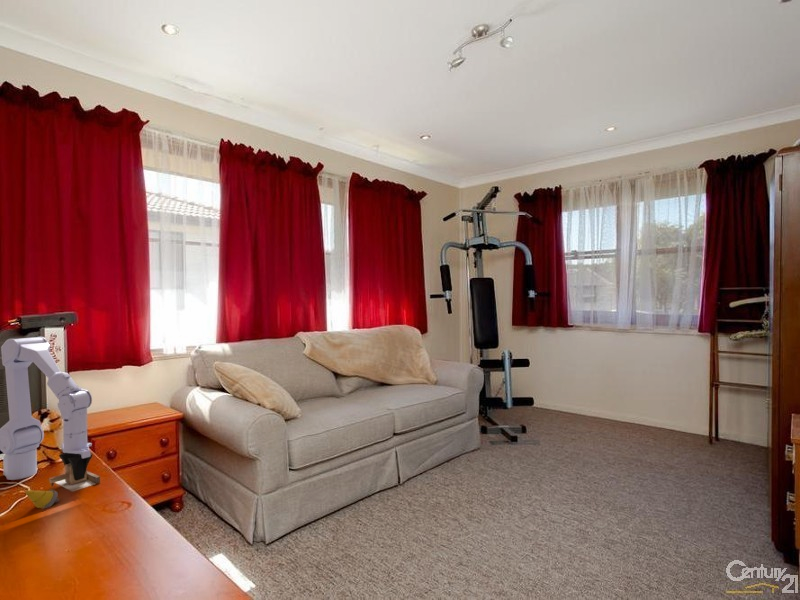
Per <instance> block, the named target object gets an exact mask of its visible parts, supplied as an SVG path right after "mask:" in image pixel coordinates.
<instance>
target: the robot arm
mask: <svg viewBox="0 0 800 600" xmlns="http://www.w3.org/2000/svg"><path fill="white" fill-rule="evenodd" d="M50 350H51V344H50V343H49V341H48V339H47V338H45V337H44V336H40V335H39V336H37V337H36V336H35V337H34V336H33V337H23V338H8V339H6V340H5V342H4V343H3V344H2V345H1V347H0V353H1V363H2V366H4V368H5V369H4V370H5V382H6V393H7V394H6V395H7V403H8V417H9V420H8V421H7V422H5V424H4V425H2V427H0V451H1V452H2V454H4V456H3V458H2V459H3V460H2V461H3V462H2V463H3V465H2V466H3V476H5V477H6V480H8V481H9V480H11V481H15V480H22V479H25V478H29V477H32V476H34V475H36V474H37V473H38V457H37V456H38V453H37V452H38V451H37V450H38V449H37V448H39V447H40V444H41V443H42V442H43V440H44V437H45V433H44V429H43V427H42V424H41V421H40V420H39V419H37V418H35V417H33V415H32V406H31V405H32V402H31V394H30V391H31V390H30V382H29V381H30V380H29V379H30V378H29V370H28V367H30V366H31V365H32V363H34V364H35V366H37V368H38V369H39V370H40V371H41V372H42V374H43V375H45V377H47V378H48V380H47V384H46V385H47V387H48V388H49V389H50V390H51V391H52V393H53V394H54V396H55V397H56V398H57V399H58V402H57V408H58V410H59V412H60V418H61V419H63V421H62V424H63V427H62V428H63V431H62V432H63V443H61V451H62V453H60V454H59V455H58V456H59V458H60V459H61V460H62V461H61V462H62V463H63V465H64V466H65V465H66V464H71V466H72V469H73V475H74V479H75V480H76V481H77V480H80V479H83V478H84V476H85V472H86V468H87V467H88V465H89V462H90V461H91V459H92V458H93V454H92V453H91V449H90V448H89V447H92V446H93V443H92V442H88V408H90V406H91V405H92V402H93V397H92V394H91V392H90V391H89V390H88V389H84V388H83V387H79V386H78V385H77V383H76V382H75V380H74V379H73V378H72V377H71V375H70V374H69V373H68V372H65V371H64V372H63V371H62V370H61V369H60V367H59V365H57V363H56V361H55V359H54V357H53V356H52V354H51V353H50V352H51V351H50ZM87 469H88V468H87Z"/></svg>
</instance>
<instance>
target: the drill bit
mask: <svg viewBox="0 0 800 600" xmlns="http://www.w3.org/2000/svg"><path fill="white" fill-rule="evenodd" d="M23 492H24V493H25V495H26V496H27V497H28V498H29V500H30V501H31V502H32V503H33V505H34V506H35V508H36V509H44V510H42V511H40V512H45V511H46V510H45V509H47V508H51V507H52V506H53V505H54V504H56V503H58V502H59V501H60V500H61V499H60V498H58V494H59V493H58V491H56V490H55V489H49V490H32V489H31V490H27V489H26V490H25V489H24V490H23Z"/></svg>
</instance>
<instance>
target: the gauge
mask: <svg viewBox="0 0 800 600" xmlns="http://www.w3.org/2000/svg"><path fill="white" fill-rule="evenodd" d="M87 469H88V468H86V472H85V476H84V478H83V479H80V480H77V481H76V480H75V479H74V475H73V469H72V466H71V464H66V465H64V470H65V471H64V473H63V474H60V475H57V476H53V477H49V481H48V482H49V483H50V484H51V487H54V486H55V485H54V484H55V482H57V481H61V480H64V479H65V482H67V483H69V484H75V483H78V482H81V481H84V480H87V471H88V470H87Z"/></svg>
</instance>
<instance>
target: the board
mask: <svg viewBox="0 0 800 600" xmlns="http://www.w3.org/2000/svg"><path fill="white" fill-rule="evenodd" d="M100 483H101V476H100V475H98V474H96V473H93V472H91V471H88V470H87V480H84V481H81V482H78V483H75V484H69V483H67V482H65V479H64V480H61V481H57V482H54V484H56V485H58V486H61V487H63V488H65V489H66V490H68V491H70V492H71V493H72V492H76V491H79V490H82V489H85V488H88V487H91V486H95V485H97V484H100Z"/></svg>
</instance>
